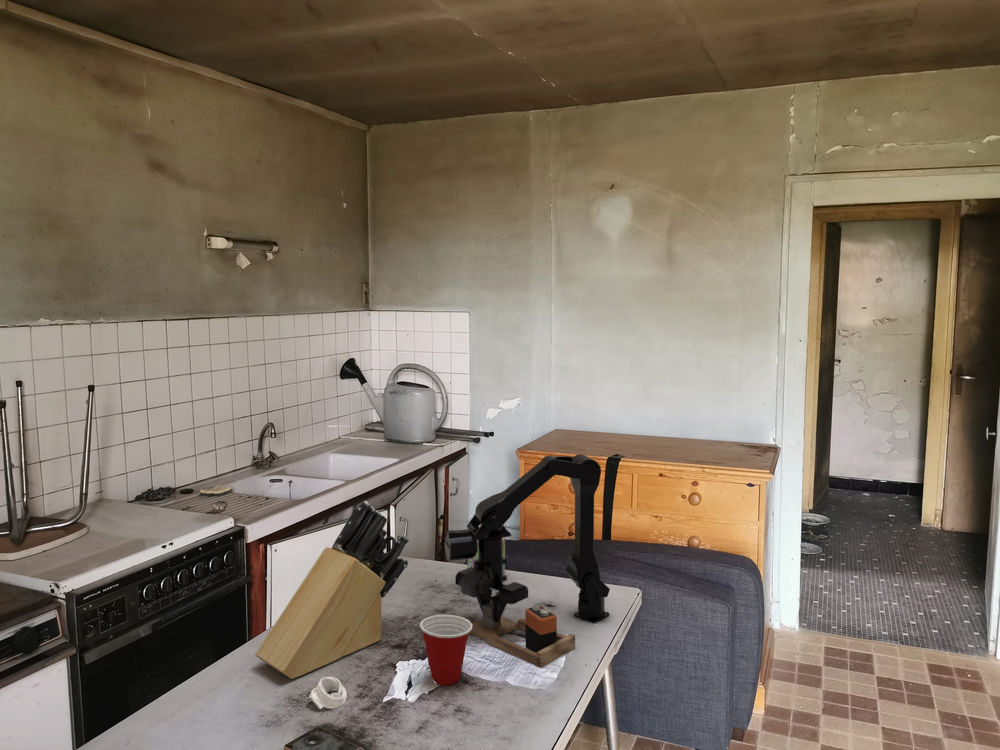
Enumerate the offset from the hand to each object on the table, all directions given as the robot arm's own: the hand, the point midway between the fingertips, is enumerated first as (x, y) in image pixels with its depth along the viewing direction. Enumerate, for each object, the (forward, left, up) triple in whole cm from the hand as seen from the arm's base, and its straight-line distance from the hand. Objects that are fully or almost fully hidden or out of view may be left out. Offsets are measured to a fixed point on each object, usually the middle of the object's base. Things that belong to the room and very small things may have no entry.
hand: (491, 619), depth 178 cm
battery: (0, +15, -3) cm, 16 cm away
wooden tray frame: (0, +8, -2) cm, 8 cm away
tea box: (-19, -20, -3) cm, 28 cm away
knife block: (+29, -20, -3) cm, 35 cm away
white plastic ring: (+43, -2, -3) cm, 43 cm away
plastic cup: (+22, +9, -3) cm, 24 cm away
